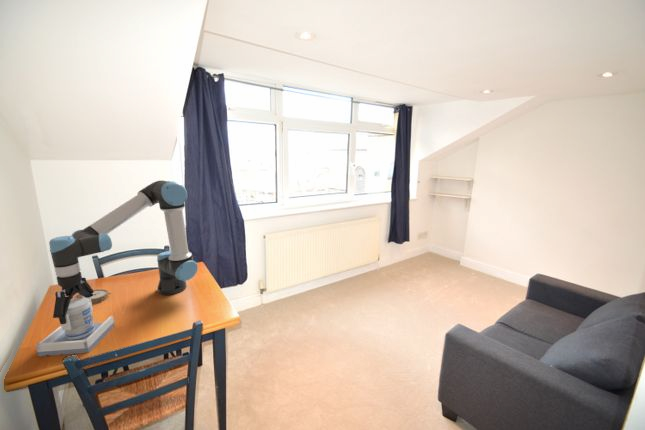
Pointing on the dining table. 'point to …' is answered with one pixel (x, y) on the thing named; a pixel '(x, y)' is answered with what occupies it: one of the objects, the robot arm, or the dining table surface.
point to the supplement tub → (79, 319)
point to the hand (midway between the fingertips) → (78, 319)
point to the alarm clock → (97, 296)
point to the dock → (62, 345)
